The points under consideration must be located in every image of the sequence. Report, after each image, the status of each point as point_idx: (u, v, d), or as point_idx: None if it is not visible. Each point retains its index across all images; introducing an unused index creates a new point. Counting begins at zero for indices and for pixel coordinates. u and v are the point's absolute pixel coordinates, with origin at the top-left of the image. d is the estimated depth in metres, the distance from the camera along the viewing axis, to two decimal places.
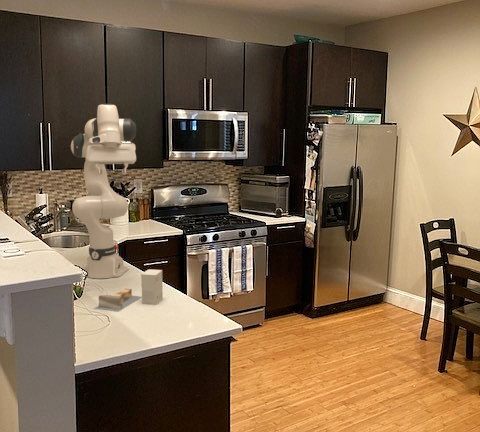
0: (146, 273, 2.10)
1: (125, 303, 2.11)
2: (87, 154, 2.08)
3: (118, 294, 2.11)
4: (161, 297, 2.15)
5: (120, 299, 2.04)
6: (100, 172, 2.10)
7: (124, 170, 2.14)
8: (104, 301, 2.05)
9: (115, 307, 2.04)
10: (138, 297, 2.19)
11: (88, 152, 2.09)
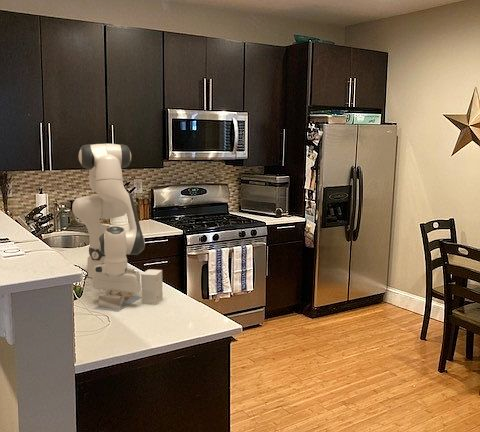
0: (146, 273, 2.10)
1: (125, 303, 2.11)
2: (92, 281, 2.10)
3: (118, 294, 2.11)
4: (161, 297, 2.15)
5: (120, 299, 2.04)
6: None
7: None
8: (104, 301, 2.05)
9: (115, 307, 2.04)
10: (138, 297, 2.19)
11: (93, 280, 2.10)
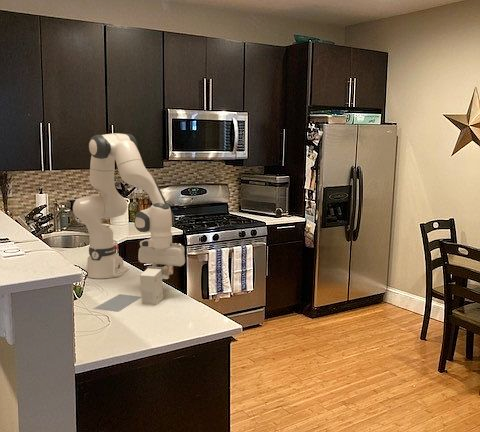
0: (145, 274, 2.08)
1: (125, 303, 2.11)
2: (138, 255, 2.20)
3: None
4: (161, 296, 2.15)
5: (168, 269, 2.15)
6: None
7: None
8: None
9: (163, 277, 2.15)
10: (138, 297, 2.19)
11: (139, 254, 2.20)
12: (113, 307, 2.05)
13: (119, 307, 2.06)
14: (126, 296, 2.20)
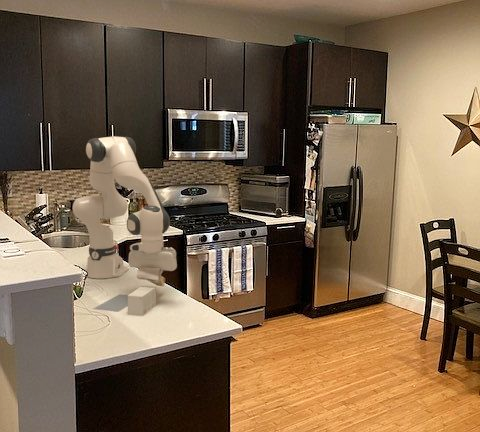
0: (131, 312, 1.98)
1: (125, 303, 2.11)
2: (129, 260, 2.13)
3: None
4: (154, 292, 2.07)
5: (160, 271, 2.08)
6: None
7: None
8: (143, 272, 2.09)
9: (154, 277, 2.07)
10: None
11: (129, 258, 2.12)
12: (113, 307, 2.05)
13: (119, 307, 2.06)
14: (126, 296, 2.20)
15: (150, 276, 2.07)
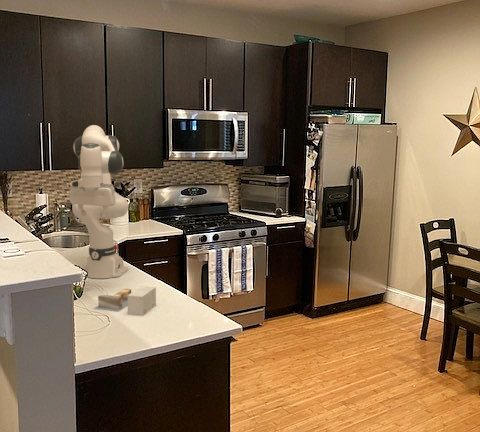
0: (131, 312, 1.98)
1: (125, 303, 2.11)
2: (70, 197, 2.19)
3: (118, 294, 2.11)
4: (154, 292, 2.07)
5: (119, 299, 2.04)
6: (81, 214, 2.19)
7: (101, 213, 2.16)
8: (103, 301, 2.05)
9: (114, 307, 2.04)
10: None
11: (70, 195, 2.18)
12: None
13: None
14: None
15: (111, 306, 2.04)
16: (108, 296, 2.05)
